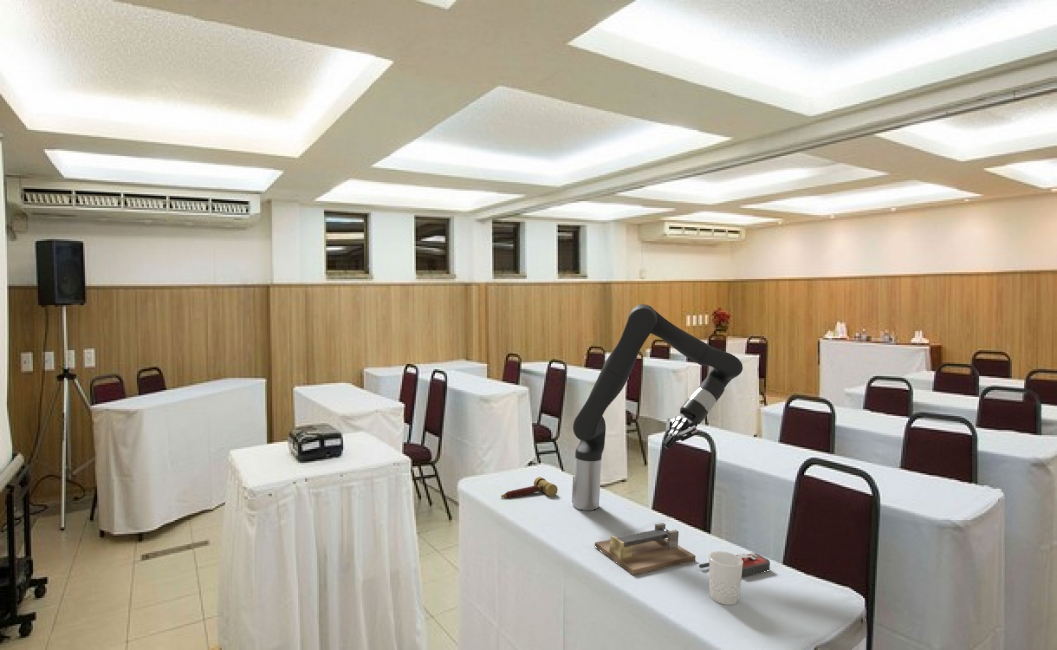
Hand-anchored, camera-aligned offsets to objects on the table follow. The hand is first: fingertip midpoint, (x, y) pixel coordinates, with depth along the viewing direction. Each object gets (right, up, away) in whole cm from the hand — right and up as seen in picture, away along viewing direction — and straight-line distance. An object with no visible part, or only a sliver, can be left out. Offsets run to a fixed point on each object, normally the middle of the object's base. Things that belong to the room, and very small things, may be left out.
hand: (665, 447), depth 172 cm
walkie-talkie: (+15, -31, -17) cm, 38 cm away
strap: (-8, -25, -10) cm, 28 cm away
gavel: (-43, -26, +35) cm, 61 cm away
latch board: (-9, -29, -10) cm, 32 cm away
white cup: (+6, -31, -32) cm, 45 cm away
